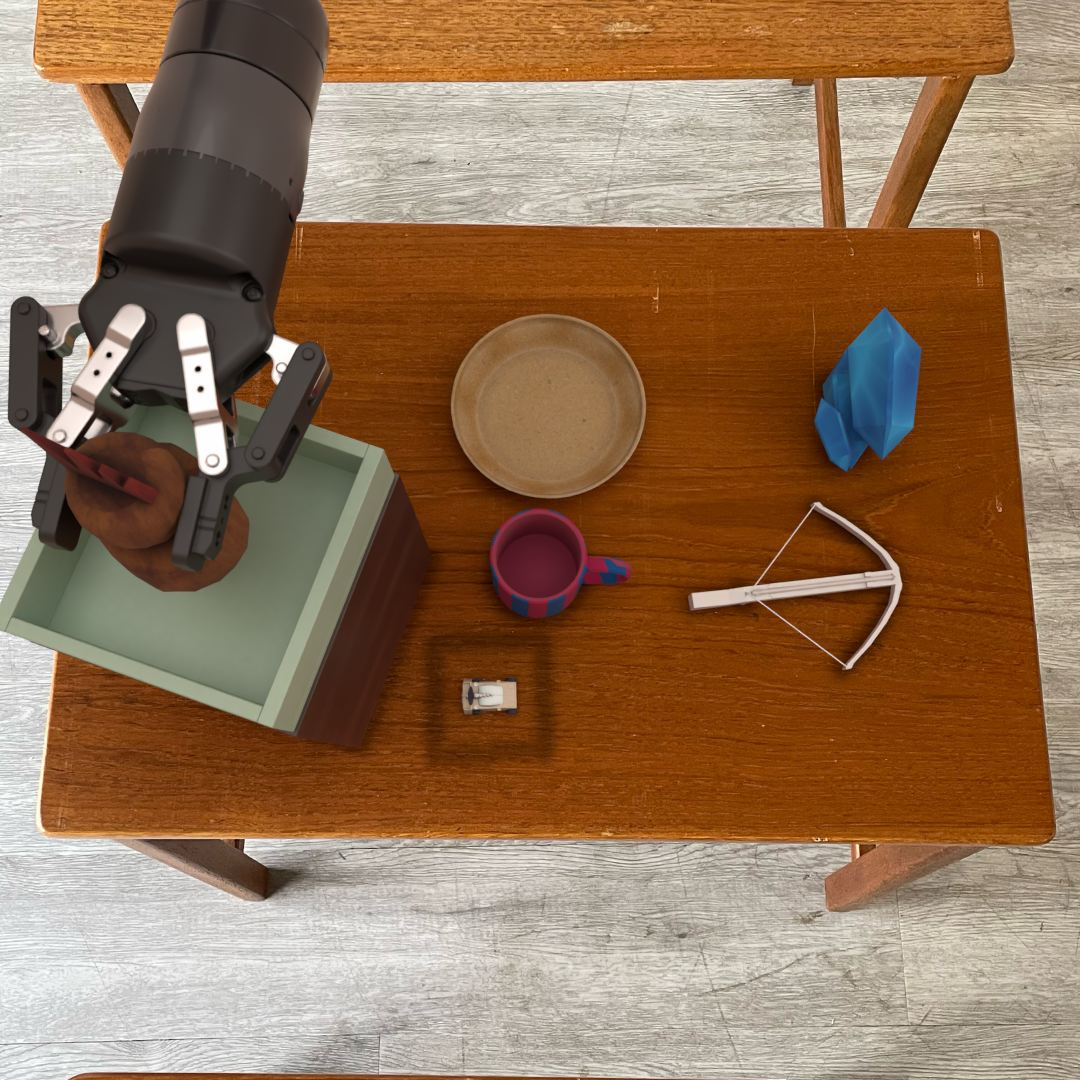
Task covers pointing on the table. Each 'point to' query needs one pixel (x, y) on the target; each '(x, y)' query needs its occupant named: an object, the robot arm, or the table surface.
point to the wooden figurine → (141, 505)
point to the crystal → (870, 393)
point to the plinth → (366, 628)
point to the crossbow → (815, 585)
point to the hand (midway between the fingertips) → (121, 555)
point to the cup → (546, 563)
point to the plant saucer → (548, 406)
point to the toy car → (489, 696)
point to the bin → (219, 583)
